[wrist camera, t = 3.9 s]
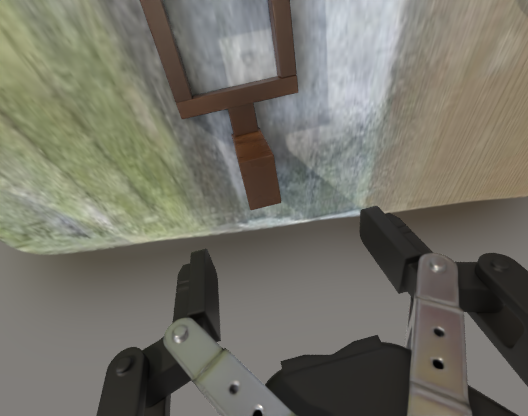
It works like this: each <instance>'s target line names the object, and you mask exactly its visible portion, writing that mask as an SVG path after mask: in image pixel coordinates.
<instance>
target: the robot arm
mask: <svg viewBox="0 0 528 416" xmlns="http://www.w3.org/2000/svg"><path fill="white" fill-rule="evenodd" d="M360 237H361V240H362V242H363V244H364V245H365V247H366V248H367V249H368V251H369V252H370V254H371V255H372V256H373V258H374V259H375V261H376V262H377V264H378V265H379V266H380V268H381V269H382V270H383V272H384V273H385V275H386V276H387V278H388V279H389V281H390V282H391V283H392V285H393V286H394V287H395V289H396V290H397V292H398V293H399V294H400V293H403V292H408V293H409V294H410V296H411V297H410V305H409V313H408V322H407V331H406V338H405V344H404V347H402V346H400V345H396V344H392V343H386V342H381V341H380V339H379V337H378V335H375V336H372V337H368V338H364V339H361V340H357V341H354V342H352V343H351V344H349V345H347V346H346V347H344V348H342V349H341V350H339V351H338V352H336V353H334V354H332V355H302V356H299V357H295V358H292V359H288V360H284V361H281V365H282V369H281V370H279V371H278V372H277V373H276V374H274V375H273V376H272V377H271V378H270V379H269V380H268V381H267V383H266V384H265V385H264V384H263V383H262V382H261V381H260V380H259V379H258V378H257V377H256V376H255V375H253V374H252V373H251V372H250V371H249V370H248V369H247V368H246V367H245V366H244V365H243V364H242V363H241V362H240V361H239V360H238V359H237V358H236V357H235V356H234V355H233V354H232V353H231V352H229V350H227V349H226V348H224V349H223V348H222V347H221V346H220V345H219V344H218V343H217V342H218V341H221V340H220V316H219V294H218V278H217V273H216V269H215V267H214V265H213V263H212V260H211V257H210V255H209V253H208V251H207V249H203V250H199V251H195V252H192V253H191V260H190V264H186V265H183V266H182V268H181V270H180V272H179V274H178V280H177V289H176V292H177V293H176V298H175V307H174V317H173V323H172V324H171V325H170V326H169V327H168V329H167V330H166V332H165V334H164V337H163V338H161V339H160V340H159V341H157V342H156V343H154V344H152V345H150V346H149V347H147V348H145V349H144V350H141V349H139V348H137V347H130V348H127V349H125V350H123V351H121V352H120V353H119V354H117V355H116V356H115V358H114V359H113V360H112V361H111V363H110V364H109V366H108V369H107V372H106V377H105V381H104V385H103V390H102V394H101V399H100V403H99V407H98V412H97V416H170V398H171V393H173V392H174V391H176V390H177V389H179V388H180V387H182V386H183V385H185V384H186V383H188V382H189V381H191V380H192V382H193V383H194V384H195V385H196V386H197V388H198V389H199V390H200V391H201V393H202V394H203V395H204V396H205V397H206V399H207V400H208V401H209V403H210V404H211V405H212V406H213V407H214V409H215V410H216V411H217V413H218V414H219V415H220V416H518V415H517V414H515V413H513V412H511V411H510V410H508V409H507V408H505V407H504V406H502V405H500V404H499V403H497V402H495V401H494V400H492V399H490V398H488V397H487V396H485V395H484V394H482V393H481V392H479V391H477V390H476V389H474V388H472V387H470V386H469V385H468V384H467V364H466V344H465V325H464V312H467V313H468V314H469V315H470V316H471V318H472V319H473V320H474V321H475V322H476V323H477V325H478V326H479V327H480V329H481V330H482V331H483V332H484V334H485V335H486V336H487V337H488V338H489V340H490V341H491V342H492V343H493V345H494V346H495V347H496V348H497V349H498V351H499V352H500V353H501V354H502V356H503V357H504V358H505V359H506V361H507V362H508V363H509V364H510V365H511V367H512V368H513V369H514V370H515V372H516V373H517V374H518V375H519V376H520V378H521V379H522V380H523V381H524V383H525V384H526V385H527V386H528V271H527V270H526V269H525V268H523V267H522V266H521V265H520V264H518V263H517V262H516V261H515V260H513V259H511V258H510V257H507V256H505V255H502V254H497V253H486V254H483V255H482V256H480V257H479V259H478V262H454V261H453V260H452V259H450V258H449V257H447V256H445V255H442V254H438V253H433V252H432V251H431V250H430V249H429V248H428V247H427V246H426V245H425V244H424V243H423V242H422V241H421V240H420V239H419V238H418V237H417V236H416V235H415V234H414V233H413V232H412V231H411V229H409V227H408V226H406V224H405V223H404V222H403V221H402V220H401V219H400V218H398V217H396V216H394V215H392V214H391V213H387V214H384V212H383V211H382V210H381V209H380V208H379V207H378V206H373V207H370V208H366V209H362V210H361V212H360Z"/></svg>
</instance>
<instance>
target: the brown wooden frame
mask: <svg viewBox="0 0 528 416" xmlns="http://www.w3.org/2000/svg"><path fill="white" fill-rule="evenodd" d="M140 2H141V5H142V8H143V11H144V14H145V16H146V19H147V22H148V25H149V28H150V31H151V34H152V36H153V39H154V42H155V45H156V48H157V51H158V53H159V56H160V59H161V62H162V65H163V68H164V70H165V73H166V76H167V79H168V82H169V85H170V87H171V90H172V93H173V96H174V99H175V102H176V105H177V107H178V110H179V113H180V116H181V119H185V118H190V117H194V116H198V115H203V114H207V113H211V112H216V111H220V110H224V109H228V112H229V116H230V120H231V125H232V129H233V134H232V139H233V143H234V147H235V151H236V155H237V159H238V163H239V167H240V171H241V175H242V179H243V183H244V186H245V190H246V194H247V198H248V202H249V206H250V210H254V209H258V208H262V207H266V206H270V205H274V204H278V203H281V196H280V190H279V184H278V178H277V172H276V166H275V160H274V155H273V153H272V151H271V149H270V147H269V145H268V143H267V141H266V139H265V137H264V136H263V134H262V132H261V130H260V128H259V127H258V125H257V120H256V114H255V109H254V104H253V103H254V102H259V101H263V100H267V99H272V98H276V97H280V96H285V95H289V94H293V93H298V82H297V75H296V74H297V73H296V63H295V52H294V41H293V31H292V20H291V9H290V0H268V5H269V13H270V21H271V28H272V36H273V44H274V51H275V59H276V66H277V74H278V76H277V77H273V78H268V79H264V80H260V81H255V82H251V83H247V84H242V85H238V86H233V87H229V88H225V89H220V90H216V91H211V92H207V93H203V94H198V95H194V96H193V95H192V92H191V88H190V85H189V82H188V79H187V76H186V72H185V69H184V66H183V63H182V59H181V56H180V53H179V50H178V47H177V43H176V40H175V37H174V34H173V31H172V27H171V24H170V21H169V18H168V15H167V11H166V8H165V5H164V2H163V0H140Z"/></svg>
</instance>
